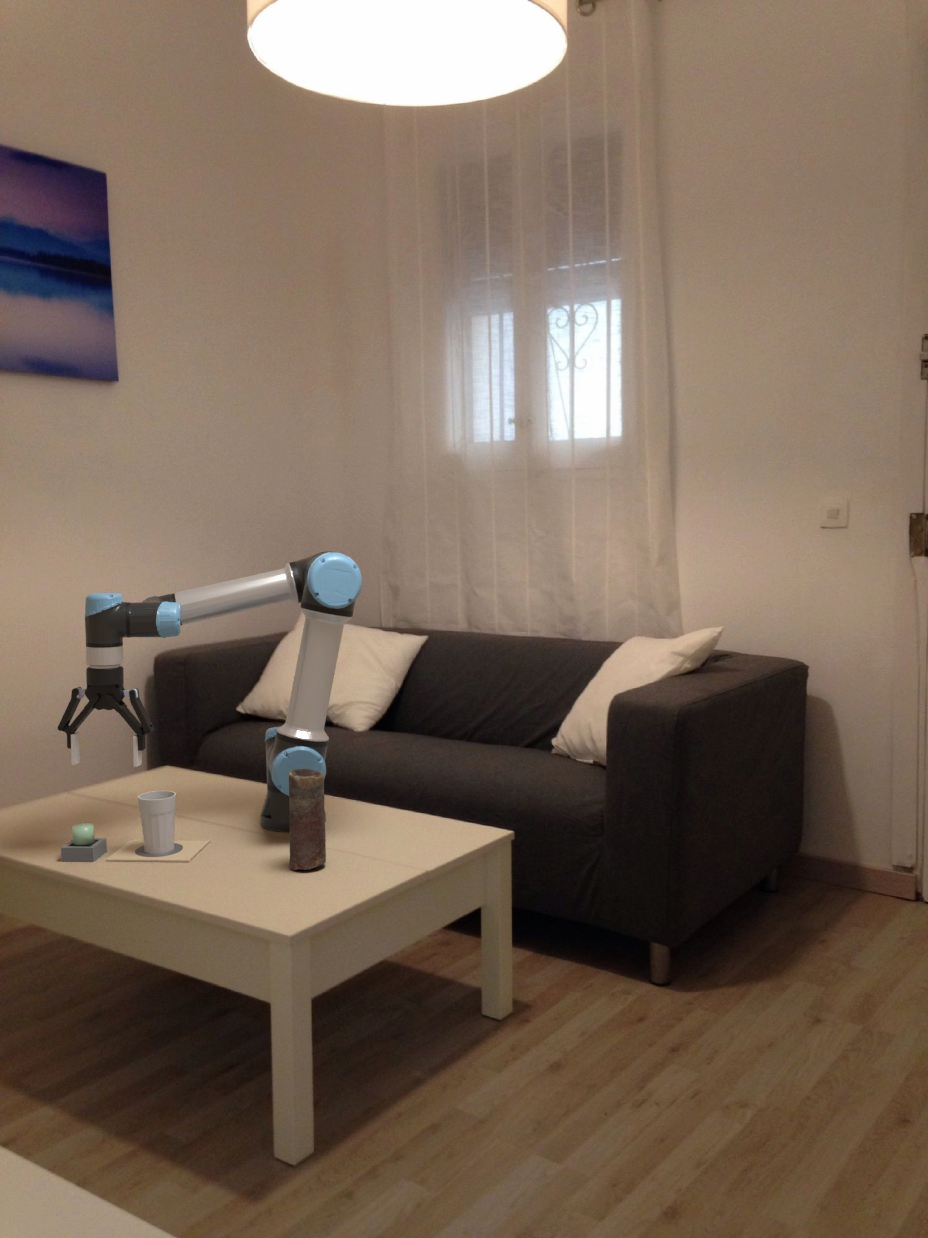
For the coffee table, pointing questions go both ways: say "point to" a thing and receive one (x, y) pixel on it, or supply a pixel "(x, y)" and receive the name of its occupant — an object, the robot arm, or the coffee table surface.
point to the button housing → (83, 851)
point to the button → (83, 834)
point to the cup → (158, 820)
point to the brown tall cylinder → (307, 819)
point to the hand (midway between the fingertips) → (106, 764)
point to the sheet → (135, 853)
